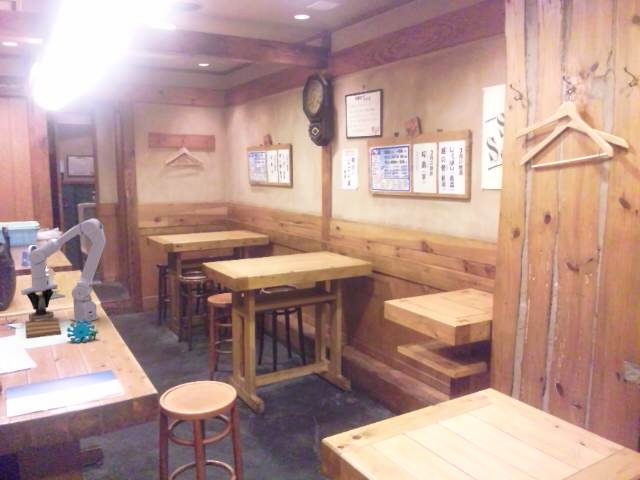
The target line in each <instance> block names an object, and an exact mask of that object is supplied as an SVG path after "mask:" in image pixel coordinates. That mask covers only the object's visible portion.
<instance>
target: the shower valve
mask: <svg viewBox="0 0 640 480" xmlns="http://www.w3.org/2000/svg"><path fill="white" fill-rule="evenodd" d="M65 297H66V295H65V294H62V293H61V294H60V293H57V292H53V294H52V296H51V298H50V301H51V300H56V299H61V298H65Z"/></svg>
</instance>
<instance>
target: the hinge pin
mask: <svg viewBox="0 0 640 480" xmlns="http://www.w3.org/2000/svg"><path fill="white" fill-rule="evenodd" d="M37 295H38V299H37V305H38V309H37V310H35V312H36V315H43V314H46V311H47V308H46V300H45V295H43V294H42V293H41V294H37Z"/></svg>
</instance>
